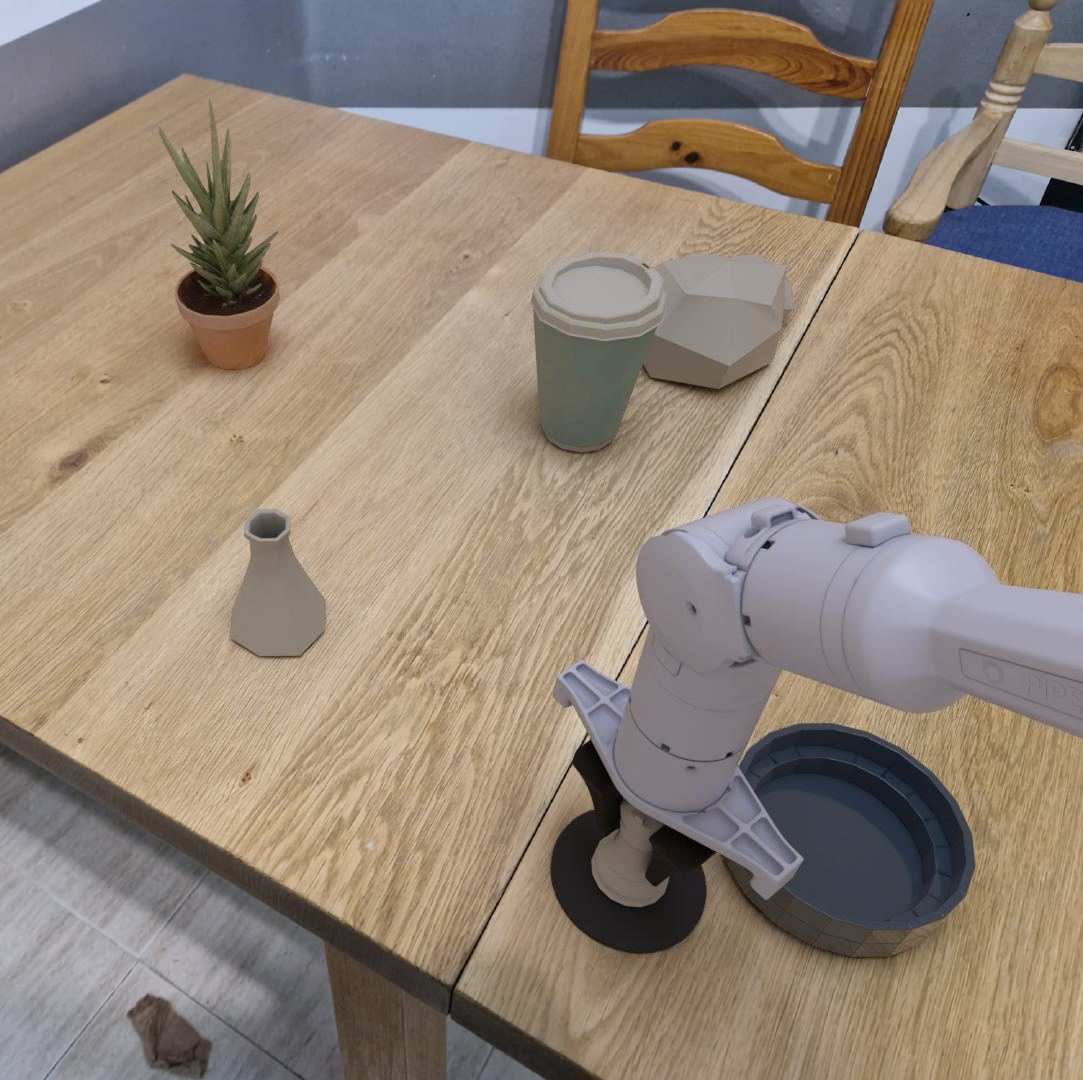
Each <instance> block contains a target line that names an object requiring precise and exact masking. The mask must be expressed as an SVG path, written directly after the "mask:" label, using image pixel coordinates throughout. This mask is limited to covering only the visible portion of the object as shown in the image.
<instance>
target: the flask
mask: <svg viewBox="0 0 1083 1080" xmlns="http://www.w3.org/2000/svg"><path fill="white" fill-rule="evenodd" d="M291 525H292V516H291V515H289V514H287V513H285V512H284V511H282V510H279V509H278V508H257V509H256V510H255V511H253V512H252V513H251V514H250V515H249V516H248V517H247V518H245V519H244V527H243V536H244V538H245V539H246V540H248V542H249V549H250V555H249V556H250V557H249V561H248V564H247V568H246V570H245V573H244V576H243V580H242V581H241V582H242V583H241V584H240V588H239V590H238V591H237V595H236V597H235V600H234V602H233V606H232V611H231V612H232V613H231V622H230V628H229V638H230V639H231V640H233V641H234V642H235V643H238V644H239V645H241V646H242V647H244V648H246V649H247V650H249V651H251V652H252V653H254V654H255V655H257V656H259V657H284V656H285V657H287V656H289V657H290V656H291V657H293V656H296V657H298V656H301V655H302V654H303V653H304V652H305V651H306V650H307V649H308V648H309V647H310V646H311V645H312V644H313V643H314V642H315V641H316V640H317V639H318V638H319V637H320V636H321V635H322V634H323V633H324V632H325V631H326V607H327V606H326V602H327V601H326V598H325V596H324V595H323V594H322V593H321V591H320V590H319V589H318V587H317V585H315V583H314V581H313V580H312V579H311V577H309V575H308V573H307V571H306V570H305V569H304V567H303V566H302V564H301V563H300V561H299V560H298V558H297V557H296V554H295V552H294V548H293V547H292V544H291V541H290V537H289V536H290V535H291V527H292V526H291Z"/></svg>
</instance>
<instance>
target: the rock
mask: <svg viewBox="0 0 1083 1080" xmlns="http://www.w3.org/2000/svg"><path fill="white" fill-rule="evenodd" d="M653 267H654V268H655V270H656V271H657V272H658V273H659V275H660V276H661V277H662V279H663V280H664V283H663V288H662V289H663V290H664V291H665V293H666V294H667V302H666V304H667V308H666V312H665V316H664V319H663V323H662V324H660V325H659V326H657V329H656V331H655V334H654V337H653V339H652V342H651V344H650V347H649V350H648V352H647V355H646V358H645V360H644V363H643V365H642V366H643V367H644V369H645V370H646V372H647V373H648V375H649V377H650V378H653V379H657V380H664V381H670V382H675V383H682V384H686V385H694V386H699V387H703V388H704V387H705V388H711V389H717V390H719V389H722V388H724V387H725V386H728V385H729V384H732V383H733V382H735V381H737V380H739V379H742V378H744V377H745V376H748V375H749V374H751V373H753V372H755V371H757V370H759V369H761V368H764V367H765V366H767V365H769V364H772V363H773V362H774V359H775V355H776V351H777V348H778V344H779V341H780V337H781V333H782V330H783V321H784V319H786V318H787V316H789V314H790V313H791V312H792V311H793V310H794V297H793V283H792V281H791V280H790V279H789V278H788V277H787V269H788V266H787V265H783V264H777V263H774V262H773V261H771V260H769V259H768V258H766V257H764V256H763V255H760V254H759V253H753V254H741V255H732V256H722V255H717V254H710V253H703V252H697V253H693V254H689V255H685V256H681V257H678V258H674V259H669V260H667V261H663V262H661V263H659V264H657V265H655V266H653Z"/></svg>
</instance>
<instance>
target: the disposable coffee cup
mask: <svg viewBox="0 0 1083 1080" xmlns="http://www.w3.org/2000/svg"><path fill="white" fill-rule="evenodd" d="M654 267H655V266H653V265H651V264H650V263H648V262H647V261H645V260H643V259H640V258H638V257H637V256H634V255H631V254H630V253H627V252H613V251H599V250H596V251H591V252H586V253H581V254H576V255H571V256H568V257H567V256H566V258H564V259H562V260H561V261H558V262H557V263H556V264H554V265H552V266H551V267H549V268H547V269H546V270H545V271H544V273H542V274H541V275H540V276H539V278H538V279H537V282H536V284H535V286H534V289H533V291H532V294H531V298H530V301H529V304H530V305H531V307H532V313H533V315H532V316H533V328H534V329H533V331H534V332H533V333H534V348H535V349H534V350H535V363H536V364H535V367H536V379H537V380H536V382H537V383H536V384H537V397H538V398H537V399H538V417H539V424H540V426H541V427H542V431H543V433H544V435H545V437H546V439H547V441H548V442H550V443H551V444H553V445H555V446H556V447H558V448H560V449H561V450H565V451H570V452H576V453H581V454H582V453H589V452H594V451H600V450H602V449H603V448H605V447H606V446H607V445H609V444H610V443H612V441H613V439H615V437H616V436H617V434H618V431H619V429H620V426H621V423H622V420H623V418H624V415H625V412H626V410H627V407H628V404H629V402H630V399H631V396H632V394H633V391H634V388H635V387H636V383H637V382H638V378H639V376H640V373H641V371H642V368H643V366H644V365H643V363H644V360H645V358H646V355H647V352H648V350H649V347H650V344H651V342H652V339H653V337H654V334H655V331H656V329H657V326H659V325H660V324H662V323H663V319H664V316H665V312H666V308H667V304H666V302H667V294H666V293H665V291H664V290H663V289H662V288H663V283H664V280H663V279H662V277H661V276H660V275H659V273H658V272H657V271H656V270H655V268H654Z"/></svg>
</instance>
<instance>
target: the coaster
mask: <svg viewBox="0 0 1083 1080" xmlns="http://www.w3.org/2000/svg"><path fill="white" fill-rule="evenodd" d="M618 829H620V827H619V828H618ZM618 829H616V830H618ZM604 837H605V836H604V835H603V834H602V833H601V832H600V831H599V830H598V827H597V822H596V816H595V811H594V809H591V810H588V811H586V812H584V813H581V814H580V815H578V816H576V817H575V818H574V819H572V820H571V821H570V822H569V823H568V824H566V826H565V827H564V828H563V829H562V830H561V832H560V834H559V836H558V837H557V839H556V841H555V843H554V846H553V849H552V853H551V857H550V879H551V885H552V889H553V891H554V895H555V896H556V900H557V901H558V903H559V906H560V907H561V909H562V910H563V911H564V913H565V914H566V917H568V918H569V920H570V921H571V922H572V923H573V924H574V925H575V926H576V927H577V928H578V929H579V930H580V931H581V932H582V933H584V934H585V935H586V936H588V937H589V938H591V939H592V940H593V941H595V942H598V943H599V944H601V945H603V946H605V947H607V948H611V949H613V950H616V951H619V952H625V953H630V954H652V953H658V952H662V951H666V950H668V949H670V948H672V947H675V946H677V945H678V944H679V943H681V942H683V941H684V940H685V939H687V937H688V936H690V934H691V933H692V932H693V931H694V930H695V928H696V927H697V925H698V924H699V922H700V920H701V918H702V916H703V914H704V910H705V906H706V903H707V880H706V876H705V871H704V868H703V866H702V865H703V864H702V865H701V866H700V867H698V868H697V869H695V870H693V871H691V872H689V873H687V874H681V873H679V872H675V873H673V874H671V875H670V876H669V881H668V884H667V887H666V890H665V893H664V894H663V895H662V896H661V897H660V898H659V899H658V900H657V901H656V902H655V903H652V904H649V905H646V906H643V907H634V906H625V905H623V904H620V903H618V902H616V901H614V900H612V899H610V898H609V897H608V896H607V895H606V894H605V893H604V892H603V891H602V890H601V889H600V888H599V887H598V885H597V883H596V881H595V878H594V876H593V874H592V861H591V860H592V858H593V855H594V853H595V850H596V848H597V847H598V844H599V842H600V841H601V840H602V839H603V838H604Z"/></svg>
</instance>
